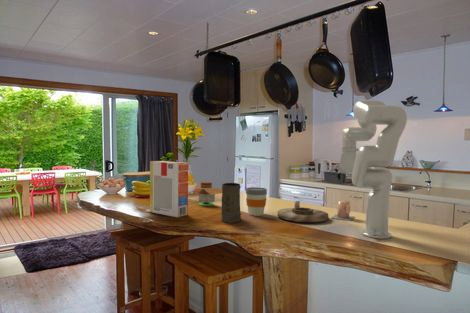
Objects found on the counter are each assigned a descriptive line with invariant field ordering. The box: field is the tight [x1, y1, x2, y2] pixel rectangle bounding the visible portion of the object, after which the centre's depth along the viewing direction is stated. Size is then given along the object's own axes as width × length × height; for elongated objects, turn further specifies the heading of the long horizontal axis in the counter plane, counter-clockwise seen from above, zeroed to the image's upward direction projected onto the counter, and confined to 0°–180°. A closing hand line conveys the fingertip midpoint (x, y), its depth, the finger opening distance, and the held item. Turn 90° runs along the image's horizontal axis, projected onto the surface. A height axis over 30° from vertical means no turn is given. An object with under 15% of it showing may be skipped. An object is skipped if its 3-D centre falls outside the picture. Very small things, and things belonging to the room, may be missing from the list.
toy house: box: [197, 181, 216, 207], centre depth 225 cm, size 12×13×15 cm
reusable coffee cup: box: [245, 186, 268, 217], centre depth 198 cm, size 13×13×15 cm
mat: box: [330, 214, 355, 222], centre depth 192 cm, size 11×11×1 cm
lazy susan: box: [277, 200, 329, 223], centre depth 189 cm, size 28×28×6 cm
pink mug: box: [336, 200, 351, 218], centre depth 190 cm, size 9×6×9 cm
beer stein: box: [220, 182, 242, 224], centre depth 181 cm, size 15×11×20 cm
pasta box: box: [149, 160, 189, 218], centre depth 195 cm, size 23×8×30 cm, turn 56°
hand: (348, 180), depth 190 cm, fingers open, 9 cm apart
